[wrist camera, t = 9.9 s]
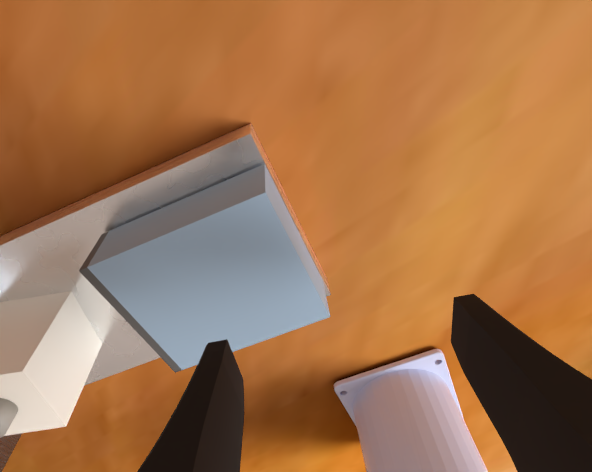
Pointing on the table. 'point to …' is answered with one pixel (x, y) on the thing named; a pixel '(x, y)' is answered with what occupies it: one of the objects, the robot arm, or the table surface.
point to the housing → (43, 361)
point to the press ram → (210, 271)
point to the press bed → (107, 216)
